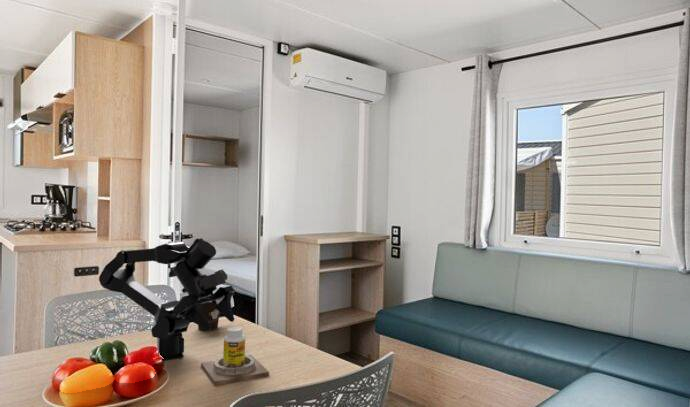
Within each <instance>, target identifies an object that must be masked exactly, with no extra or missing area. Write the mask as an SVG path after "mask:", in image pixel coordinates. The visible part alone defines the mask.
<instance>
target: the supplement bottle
mask: <svg viewBox="0 0 690 407" xmlns="http://www.w3.org/2000/svg"><path fill="white" fill-rule="evenodd" d="M245 355H246V335H244V334H243V327H240V326H230V327H228V328H227V329H226V335H225V336H224V337H223V355H222V357H223V367H230V368H236V367H242V366H244V364H245Z"/></svg>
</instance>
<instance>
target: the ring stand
mask: <svg viewBox="0 0 690 407" xmlns="http://www.w3.org/2000/svg"><path fill="white" fill-rule="evenodd" d="M200 367H201V369H203V370H202V371H204V373H205V374H206V375H207V377H208V378H209V379H210V382H212V384H213V385H214V386H219V385H220V386H221V385H226V384H231V383H236V382H241V381H247V380H253V379H257V378H263V377H268V376H270V371H269V370H268V369H267V368H266V367H265V366H264V365H263V364H262V363H260V361H258V360H257V359H256V358H255V356H253V355H252V354H248V355H247V354H245V364H244V366H242V367H236V368H230V367H223V356H221V357H218V358H216V359H215V360H209V361H204V362H200Z"/></svg>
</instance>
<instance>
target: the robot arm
mask: <svg viewBox="0 0 690 407" xmlns="http://www.w3.org/2000/svg"><path fill="white" fill-rule="evenodd" d="M216 254H217V250H216V247H215V246H214V245H212V244H211V243H210V242H208V241H205V240H204V239H203V238H202V237H199V238H195V240H194V241H193V243H192V244H191V245H190V246H187V245H186V244H185V242H183V241H177V242H170V243H169V242H168V243H163V244H160V245H158V246H155V247H154V248H152V247H151V248H143V249H142V248H141V249H133V248H132V249H130V248H129V249H124V250H120V251H117V254H115V256H114V258H113V259H112V260H110V261H109V262H108V263H107V264H106V265H105V266H104V268H103V269H102V271H101V272H100V275H99V276H98V277H99V278H98V281H99V283H100V286H102V288H104V289H106V290H108V291H110V292H115V293H121V294H123V295H124V296H125V297H126V298H128V299H130V300H131V301H133V302H134V303H135V304H137V305H138V306H139V307H140V308H142V309H144V311H146V312H147V313H149V314H150V315H152V316H153V317H154V321H155V325H154V326H153V327H152V328H151V329H150V331H151V335H152V338H156V340H157V342H156V346H157V348H158V350H159V353H160V355H161V356H162V357H163V358H164V360H163V361H166V360H173V359H179V358H183V357H184V353H185V338H184V337H183V333H185V332H187V331H188V328H189V325H190V324H191V322H192V323H193V324H195V325H197V326H198V325H199V326H201V327H203V328H204V329H206V330H208V331H207V332H209V330H211V325H210V323H209V321H208V320H207V318H206V316H205V315H204V313H203V311H202V305H201V304H204V303H208V302H211V301H212V303H213V304H215V305H216V307H215V308H216V309H217V310H218V311H219V312H220V313H222V314H221V315H222V316H224V317H225V318H226V319H227V320H228V321H229V322H230V323H233V322H234V321H235V316H234V311H233V308H232V303H231V301H232V300H231V299H232V297H234V293H235V292H236V290H235V289H234V288H233V285H230V284H227V285H225V284H226V283H227V282H226V281H227V280H228V274H227V273H226V271H224V269H219V270H217V271H215V272H214V273H212V274H208V275H207V274H203V275H202V273H201V272H200V270H203V269H204V268H205V267H206V266H207V265H208V263H210V262H211V260H212V259H213V258H214V257H215V256H216ZM141 262H142V263H143V262H156V263H157V264H163V265H172V264H176V265H174V266H173V267H170V268H169V273H168V278H175V277H176V278H177V280H178V281H179V282H180V284H181V286H182V287H183V288H182V289H181V292H182V293H183V294H188V295H184V296H181V298H180V299H179V300H177V299H176V300H171V301H168V302H166V301H165V300H164V299H162V298H161V297H159V296H158V295H156V294H155V293H153V292H152V291H151V290H149V289H148V288H146V287H145V286H143V285H142V284H141V283H139V282H137V281H136V280H135V275H134V272H136V263H141ZM124 265H125V266H124ZM220 285H222V286H220ZM218 286H219V288H218V289H217V287H218ZM214 291H215V292H214ZM208 298H209V299H208ZM211 331H212V330H211ZM157 348H156V349H157Z"/></svg>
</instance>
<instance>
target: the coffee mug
mask: <svg viewBox="0 0 690 407" xmlns="http://www.w3.org/2000/svg"><path fill="white" fill-rule="evenodd" d="M208 299H209V298H208ZM201 305H202V311H203V313H204V315H205V316H206V318H207V320H208V321H209V323H210V325H211V330H209V331H214V330H218V329H219V328H218V327H219V320H220V316H222V315H223V314H222V313H221V312H219V311H218V310H217V309H216V308H215V307H216V305H215V304H213V303H212V301H211V302H208V303H204V304H201ZM197 329H198V330H199V331H202V332H209V331H208V330H206V329H204V328H203V327H201V326H199V325H197Z"/></svg>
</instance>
